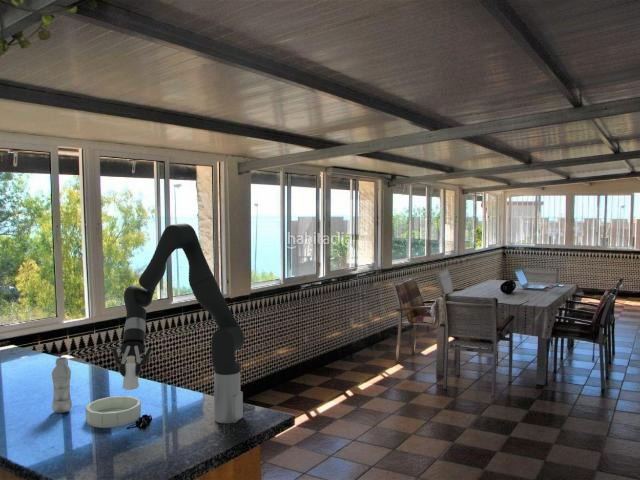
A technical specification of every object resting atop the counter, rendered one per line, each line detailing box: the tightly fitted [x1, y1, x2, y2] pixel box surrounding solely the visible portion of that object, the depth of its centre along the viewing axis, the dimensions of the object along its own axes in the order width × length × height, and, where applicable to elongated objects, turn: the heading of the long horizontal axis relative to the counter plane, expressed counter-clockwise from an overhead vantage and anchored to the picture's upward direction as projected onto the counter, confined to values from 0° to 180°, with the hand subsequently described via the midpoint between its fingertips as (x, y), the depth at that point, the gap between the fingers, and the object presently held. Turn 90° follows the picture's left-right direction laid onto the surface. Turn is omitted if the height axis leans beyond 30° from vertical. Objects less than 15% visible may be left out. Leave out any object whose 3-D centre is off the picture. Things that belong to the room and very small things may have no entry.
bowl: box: [85, 395, 142, 429], centre depth 191 cm, size 18×18×5 cm
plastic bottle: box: [51, 357, 73, 414], centre depth 197 cm, size 6×7×20 cm
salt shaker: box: [122, 356, 140, 391], centre depth 187 cm, size 5×5×11 cm
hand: (130, 375), depth 185 cm, fingers closed on salt shaker, 4 cm apart
